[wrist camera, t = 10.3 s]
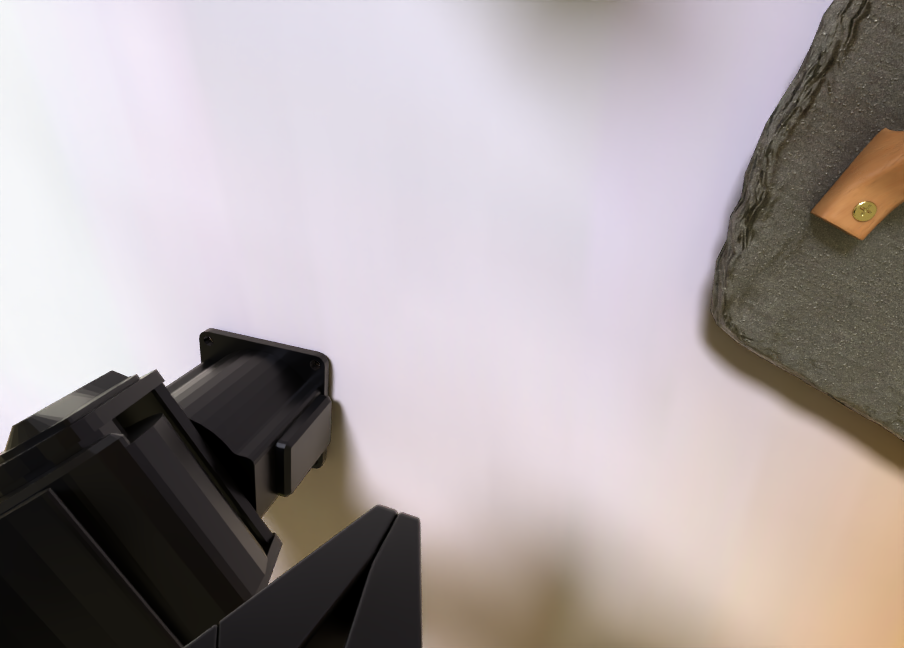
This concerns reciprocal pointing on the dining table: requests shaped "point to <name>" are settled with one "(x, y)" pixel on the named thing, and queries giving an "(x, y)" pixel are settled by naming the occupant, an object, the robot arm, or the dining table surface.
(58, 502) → the robot arm
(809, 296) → the serving board
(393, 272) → the dining table surface
